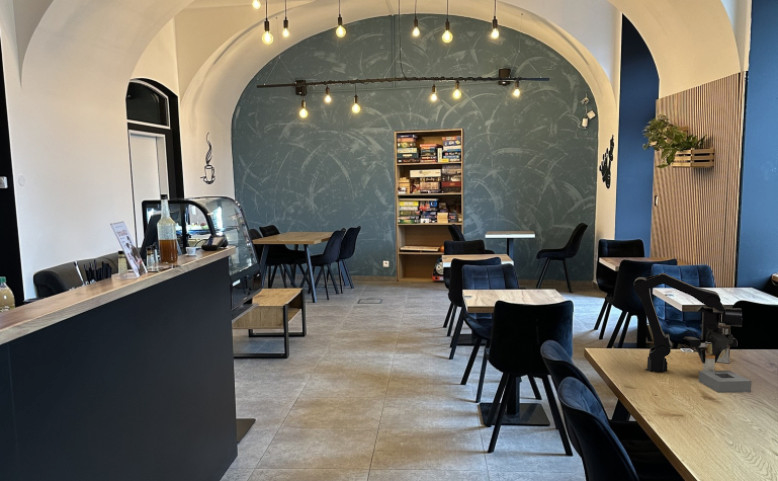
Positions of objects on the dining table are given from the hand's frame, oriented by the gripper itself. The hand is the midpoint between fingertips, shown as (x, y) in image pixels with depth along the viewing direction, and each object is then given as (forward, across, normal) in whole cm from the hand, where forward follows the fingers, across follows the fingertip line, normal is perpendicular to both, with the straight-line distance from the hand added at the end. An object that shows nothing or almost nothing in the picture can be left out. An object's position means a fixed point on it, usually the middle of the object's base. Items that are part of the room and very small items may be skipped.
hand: (708, 363), depth 218 cm
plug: (+5, 0, 0) cm, 5 cm away
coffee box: (+6, +18, +23) cm, 30 cm away
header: (+6, -1, -11) cm, 13 cm away
